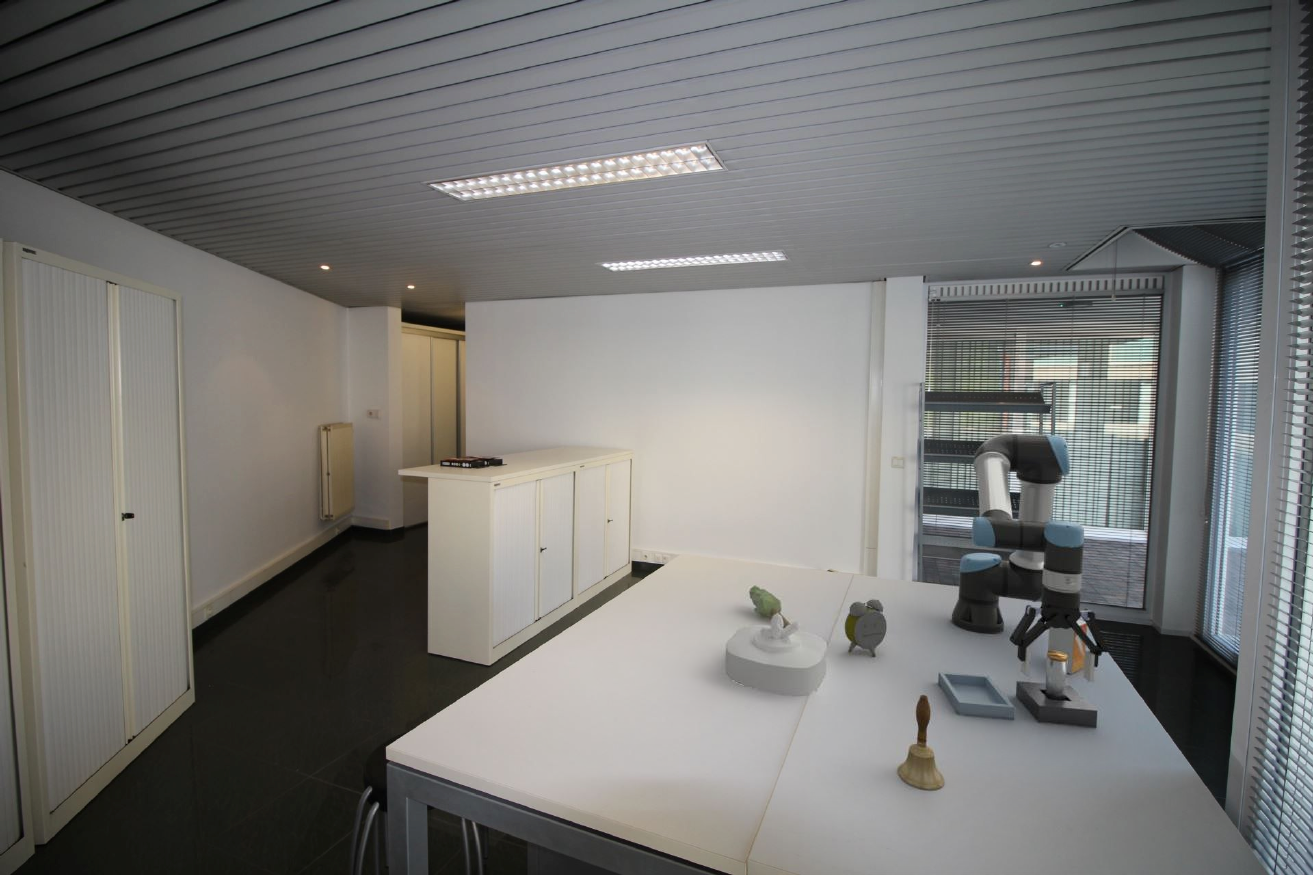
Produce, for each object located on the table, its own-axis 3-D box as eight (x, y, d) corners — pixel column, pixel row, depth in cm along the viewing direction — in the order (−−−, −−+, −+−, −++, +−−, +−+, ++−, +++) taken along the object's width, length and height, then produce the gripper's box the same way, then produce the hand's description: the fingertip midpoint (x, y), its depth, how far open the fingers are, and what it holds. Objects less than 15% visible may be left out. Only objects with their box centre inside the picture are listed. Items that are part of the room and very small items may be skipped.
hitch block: (1015, 696, 148) (1016, 680, 148) (1068, 701, 146) (1069, 685, 146) (1038, 722, 136) (1039, 705, 136) (1096, 727, 134) (1097, 710, 134)
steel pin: (1040, 706, 143) (1044, 649, 142) (1059, 708, 143) (1062, 651, 142) (1048, 715, 139) (1052, 656, 138) (1067, 716, 139) (1071, 658, 138)
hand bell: (889, 764, 119) (893, 687, 118) (929, 762, 120) (933, 685, 119) (911, 791, 111) (914, 708, 110) (953, 789, 112) (957, 707, 111)
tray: (938, 682, 155) (938, 671, 154) (987, 687, 153) (988, 675, 152) (958, 714, 139) (959, 702, 139) (1014, 720, 137) (1015, 707, 137)
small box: (1071, 675, 160) (1074, 627, 159) (1046, 666, 165) (1048, 620, 165) (1085, 668, 165) (1088, 621, 164) (1059, 659, 170) (1062, 614, 169)
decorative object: (805, 627, 190) (768, 588, 213) (790, 609, 186) (753, 571, 209) (785, 646, 189) (749, 604, 212) (769, 628, 185) (735, 588, 208)
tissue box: (831, 662, 166) (832, 606, 165) (814, 703, 144) (816, 637, 143) (744, 645, 177) (745, 592, 176) (716, 680, 155) (717, 620, 154)
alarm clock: (873, 645, 178) (875, 595, 177) (890, 654, 172) (892, 603, 171) (842, 650, 174) (844, 600, 173) (858, 660, 167) (860, 608, 166)
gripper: (1010, 589, 137) (1005, 679, 139) (1130, 597, 133) (1125, 689, 134) (997, 580, 145) (992, 665, 146) (1111, 587, 141) (1105, 674, 142)
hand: (1056, 677), depth 140 cm, fingers open, 13 cm apart
